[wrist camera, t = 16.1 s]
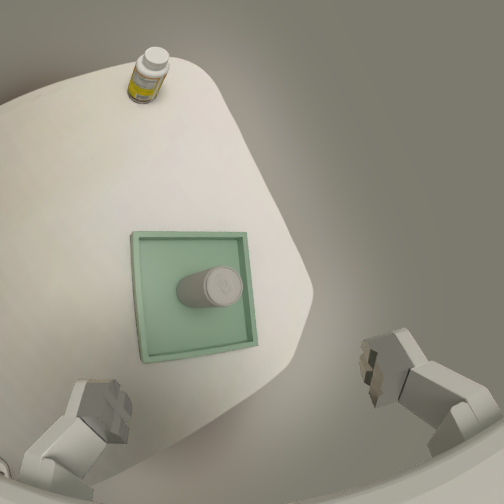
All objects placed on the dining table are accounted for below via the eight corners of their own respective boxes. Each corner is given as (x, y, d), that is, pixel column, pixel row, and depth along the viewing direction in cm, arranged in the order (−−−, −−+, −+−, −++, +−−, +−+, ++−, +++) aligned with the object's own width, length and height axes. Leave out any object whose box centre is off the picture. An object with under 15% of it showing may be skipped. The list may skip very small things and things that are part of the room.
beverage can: (194, 269, 46) (229, 256, 36) (211, 295, 47) (251, 291, 36) (169, 286, 43) (197, 279, 33) (187, 314, 44) (221, 315, 34)
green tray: (249, 344, 49) (258, 345, 47) (140, 360, 40) (144, 363, 38) (239, 235, 52) (246, 232, 49) (130, 235, 42) (132, 231, 40)
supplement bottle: (146, 77, 47) (163, 40, 38) (162, 97, 48) (181, 61, 40) (121, 87, 44) (133, 48, 36) (136, 109, 45) (151, 71, 37)
